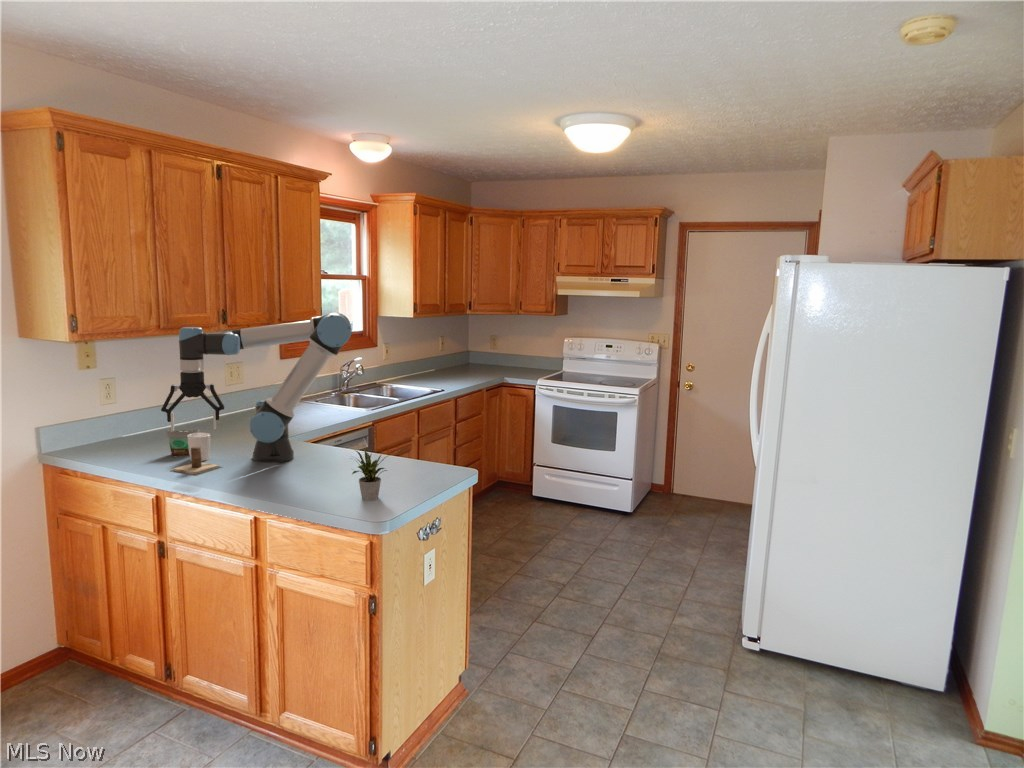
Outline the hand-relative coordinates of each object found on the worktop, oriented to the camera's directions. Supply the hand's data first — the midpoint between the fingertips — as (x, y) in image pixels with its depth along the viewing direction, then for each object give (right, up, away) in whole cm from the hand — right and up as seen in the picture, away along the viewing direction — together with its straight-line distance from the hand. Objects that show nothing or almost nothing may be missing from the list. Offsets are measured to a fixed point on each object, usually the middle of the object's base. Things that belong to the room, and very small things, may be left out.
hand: (194, 429), depth 236 cm
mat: (0, -15, +2) cm, 15 cm away
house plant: (+66, -21, -22) cm, 73 cm away
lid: (0, -14, +2) cm, 14 cm away
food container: (-15, -12, +22) cm, 29 cm away
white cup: (-5, -13, +16) cm, 21 cm away
